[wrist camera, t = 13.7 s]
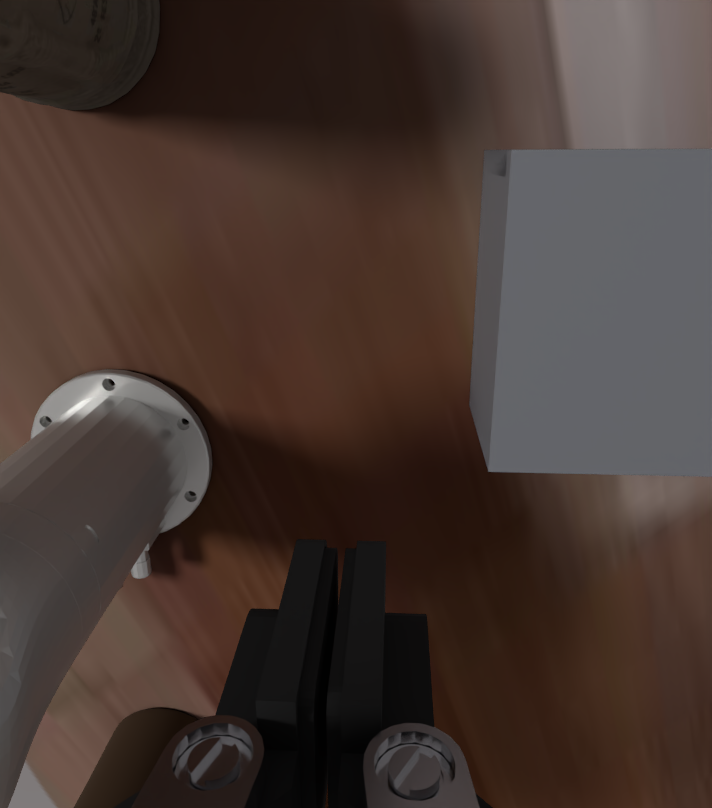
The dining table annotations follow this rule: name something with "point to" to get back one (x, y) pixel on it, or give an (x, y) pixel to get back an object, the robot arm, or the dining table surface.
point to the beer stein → (75, 49)
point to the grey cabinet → (594, 312)
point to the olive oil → (131, 756)
